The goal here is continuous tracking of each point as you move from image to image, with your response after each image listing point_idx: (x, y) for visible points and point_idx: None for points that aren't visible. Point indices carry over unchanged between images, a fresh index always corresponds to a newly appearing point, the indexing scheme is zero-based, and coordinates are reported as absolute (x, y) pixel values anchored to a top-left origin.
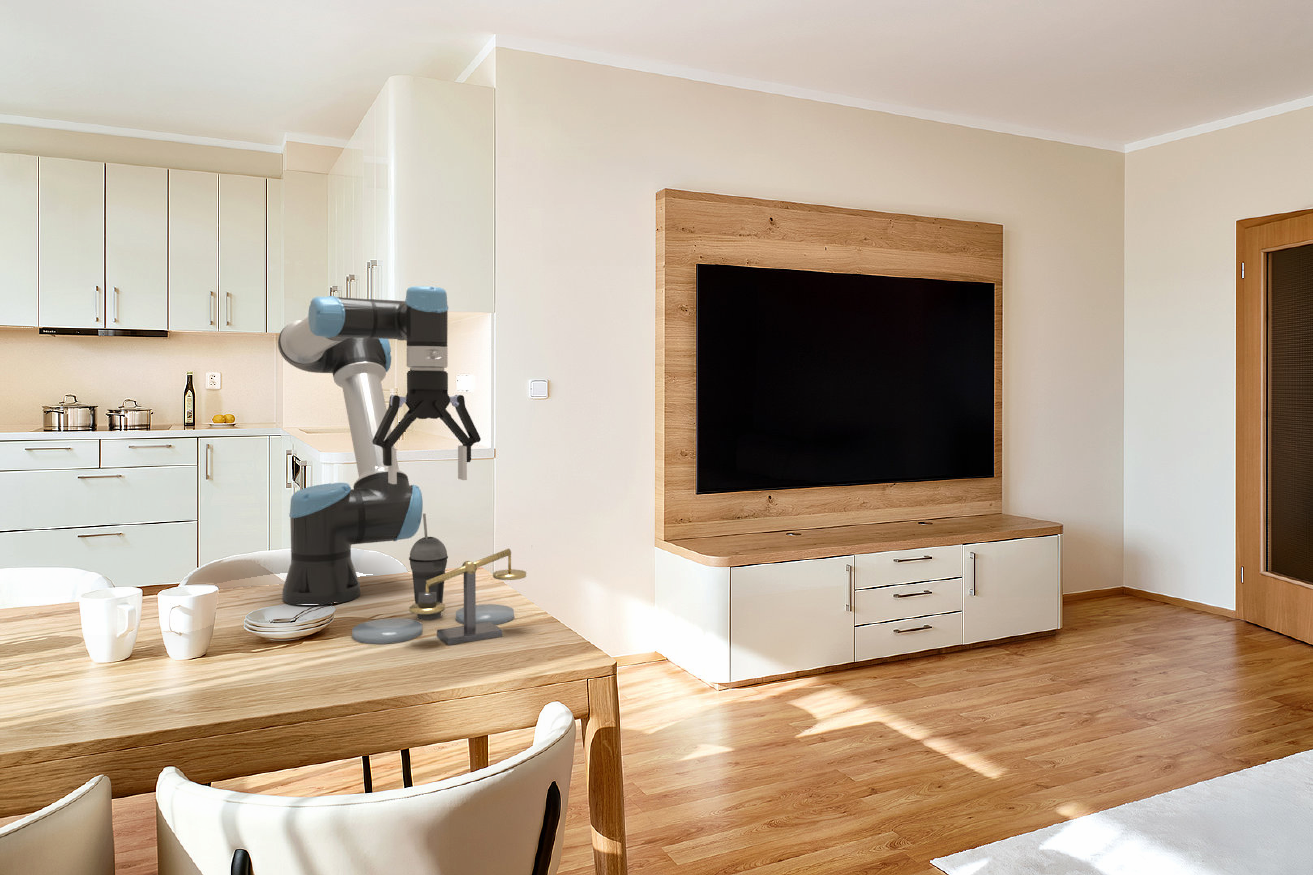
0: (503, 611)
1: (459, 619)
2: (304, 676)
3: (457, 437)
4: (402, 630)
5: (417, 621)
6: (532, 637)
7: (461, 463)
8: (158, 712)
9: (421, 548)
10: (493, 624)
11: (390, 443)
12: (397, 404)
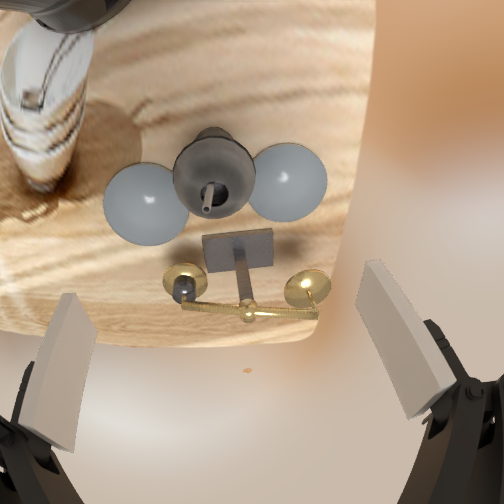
0: (309, 196)
1: None
2: (81, 296)
3: (443, 440)
4: (161, 228)
5: None
6: None
7: (385, 344)
8: (22, 316)
9: (192, 212)
10: (272, 244)
11: (50, 469)
12: None
